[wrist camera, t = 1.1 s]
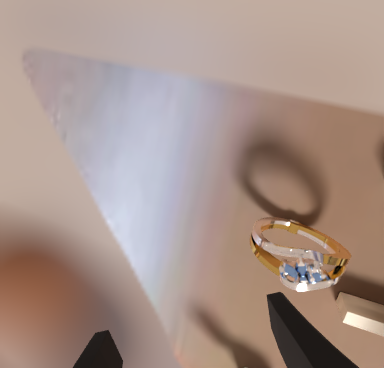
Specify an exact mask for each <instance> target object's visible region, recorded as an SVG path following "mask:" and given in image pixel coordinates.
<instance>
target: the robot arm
mask: <svg viewBox="0 0 384 368" xmlns="http://www.w3.org/2000/svg"><path fill="white" fill-rule="evenodd" d="M267 301H268V308H269V315H270V322H271V329H272V331H273V334H274V337H275V340H276V342H277V345H278V348H279V350H280V353H281V355H282V357H283V360H284V362H285V364H286V366H287V368H359V367H358V366H357V365H355V364H354V363H353V362H352V361H351V360H349V359H348V358H347V357H346V356H345V355H344V354H343V353H341V352H340V351H339V350H338V349H337V348H336V347H335V346H333V345H332V344H331V343H330V342H329V341H328V340H327V339H326V338H325V337H324V336H323V335H322V334H321V333H320V332H319V331H318V330H317V329H316V328H314V327H313V326H312V325H311V324H310V323H309V322H308V321H307V320H306V319H305V318H304V316H303V315H302V314H301V313H300V312H299V311H298V310H297V309H296V308H295V307H294V306H293V305H292V304H291V303H290V301H289V300H288V299H287V298H286V297H285V296H284V294H283V293H281V292H277V293H273V294H268V295H267ZM122 364H123V360H122V358H121V356H120V354H119V351H118V349H117V347H116V345H115V343H114V341H113V339H112V337H111V334H110V332H109V331H108V330H107V331H102V332H97V333H95V335H94V336H93V337H92V339H91V340H90V342H89V343H88V345H87V346H86V348H85V349H84V351H83V353H82V354H81V356H80V357H79V359H78V360H77V362H76V363H75V365H74V367H73V368H122Z"/></svg>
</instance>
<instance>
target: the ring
mask: <svg viewBox="0 0 384 368" xmlns="http://www.w3.org/2000/svg"><path fill="white" fill-rule="evenodd" d="M270 228H280V229H286V230H287V231H289V232H291V233H294V234H297V233H298V234H301V235H303V236H306V237H308V238H310V239H312V240H313V241H315V242H317V243H318V244H320V245H321V246H323V247H324V248H325V249H326V250H327V251H328V252H329V253H330V254H321V253H319V252H316V251H312V250H309V249H302V248H292V247H285V246H280V245H276V244H273V243H271V242H270V241H268V240H267V239H266V238H265V237H264V236H263V234H262V232H263V231H264V230H266V229H270ZM250 246H251V249H252V251H253V253H254V254H255V256H256V257H257V258H258V259H259V261H260V262H261V263H262V264H263V265H264V266H266V267H267V268H268V269H269V270H271V271H272V272H273V273H275V274H276V275H278V276H279V278H280V280H281V282H282V283H283V284H284V285H285V286H287V287H288V288H290V289H293V290H297V291H311V290H317V289H322V288H327V287H330V286H333V285H335V284H336V283H338V282H339V281H340V280H341V278H342V277H343V275H344V273H345V271H346V268H347V264H348V262H349V260H350V258H351V254H350V253H349V251H348V250H347V249H346V248H344V247H343V246H342V245H341V244H339V243H338V242H337V241H335V240H334V239H332V238H330V237H329V236H327V235H325V234H323V233H321V232H319V231H317V230H315V229H313V228H311V227H308V226H306V225H303V224H301V223H300V222H298V221H296V220H292V219H290V220H288V219H283V218H277V217H267V218H262V219H259V220H257V221H256V222H255V224H254V226H253V229H252V232H251V235H250ZM269 252H270V253H273V254H277V255H282V256H288V257H297V259H296V260H295V261H291V262H289V261H287V260H286V259H282V260H281V261H280V260H278V259H276V258H275V257H274V256H272V255H271V254H270V253H269ZM304 258H308V259H304ZM323 263H324V264H329V265H335V268H334V269H333V270H332V271H330V272H329V273H327V272H326V271H325V270H323V269H321V268H320V266H323ZM290 276H291V277H290ZM293 277H294V278H293Z"/></svg>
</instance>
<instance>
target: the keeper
mask: <svg viewBox="0 0 384 368" xmlns="http://www.w3.org/2000/svg"><path fill="white" fill-rule="evenodd" d="M336 304H337V307H338V310H339V313H340V316H341V319H342V322H343V323H346V324H349V325H352V326H355V327H358V328H361V329H363V330H366V331H369V332H372V333H375V334H378V335H381V336H384V305H381V304H378V303H375V302H372V301H368V300H365V299H362V298H359V297H356V296H353V295H349V294H346V293H343V292H340V293H339V295H338V298H337V300H336Z"/></svg>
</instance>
